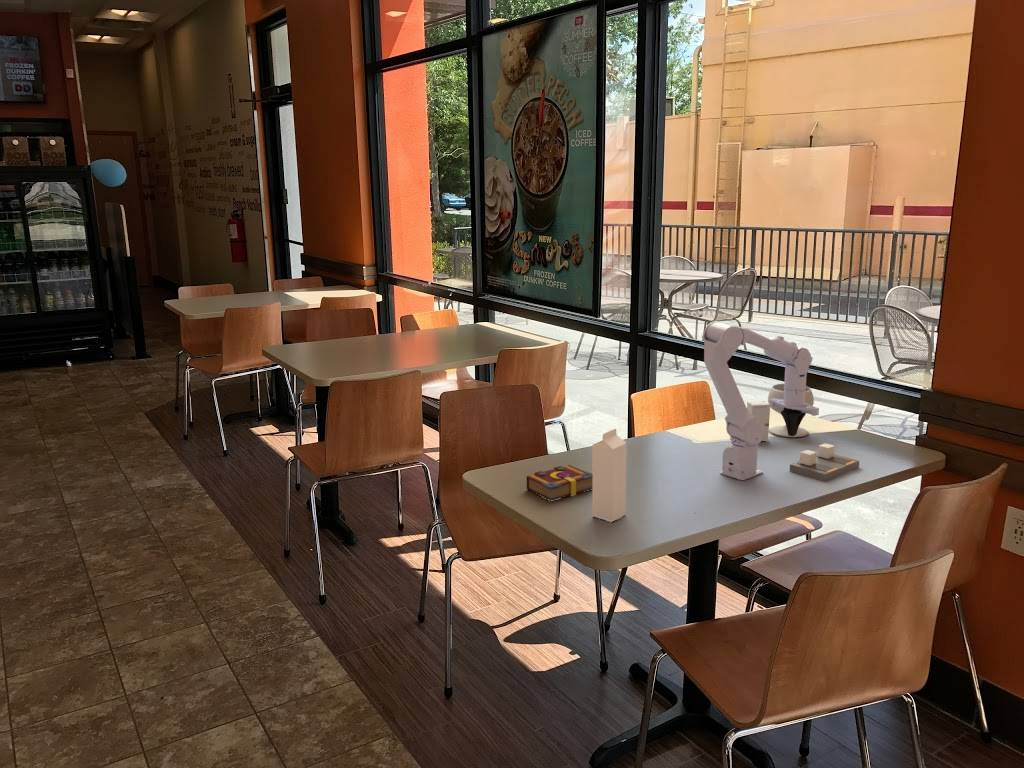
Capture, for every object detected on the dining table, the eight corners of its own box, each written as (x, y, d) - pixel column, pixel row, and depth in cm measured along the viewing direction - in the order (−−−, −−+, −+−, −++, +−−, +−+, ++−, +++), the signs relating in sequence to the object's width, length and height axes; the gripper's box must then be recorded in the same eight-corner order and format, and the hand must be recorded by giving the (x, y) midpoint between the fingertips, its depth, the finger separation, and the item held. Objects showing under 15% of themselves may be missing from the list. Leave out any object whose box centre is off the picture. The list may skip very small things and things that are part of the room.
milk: (625, 515, 205) (627, 430, 200) (612, 523, 200) (613, 436, 195) (605, 510, 209) (606, 426, 203) (591, 517, 204) (592, 431, 199)
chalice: (757, 432, 269) (759, 387, 265) (780, 424, 277) (783, 380, 274) (797, 442, 258) (799, 395, 255) (819, 432, 267) (823, 387, 264)
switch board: (824, 481, 224) (825, 473, 224) (789, 471, 233) (789, 463, 233) (858, 467, 235) (859, 460, 234) (823, 458, 243) (824, 451, 243)
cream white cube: (809, 465, 230) (809, 454, 230) (799, 463, 233) (800, 452, 232) (815, 463, 232) (816, 452, 232) (806, 460, 235) (807, 449, 234)
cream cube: (827, 458, 236) (828, 448, 235) (818, 456, 238) (818, 445, 237) (833, 456, 238) (834, 445, 237) (824, 453, 240) (825, 443, 239)
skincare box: (750, 442, 259) (752, 405, 256) (744, 438, 263) (746, 401, 260) (769, 441, 259) (771, 404, 257) (763, 437, 264) (764, 400, 261)
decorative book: (525, 491, 223) (525, 473, 222) (572, 478, 232) (572, 461, 231) (550, 503, 214) (550, 485, 213) (598, 489, 223) (598, 472, 222)
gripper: (826, 390, 229) (823, 437, 232) (781, 381, 240) (778, 426, 243) (811, 395, 225) (808, 442, 228) (766, 385, 236) (764, 431, 239)
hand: (792, 434), depth 235 cm, fingers closed
